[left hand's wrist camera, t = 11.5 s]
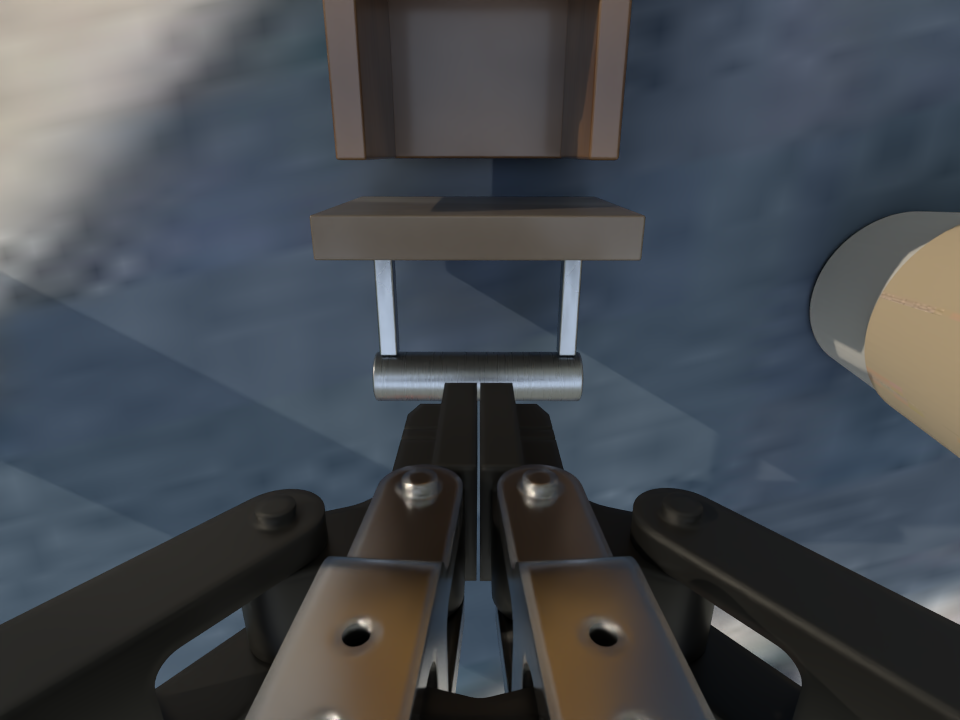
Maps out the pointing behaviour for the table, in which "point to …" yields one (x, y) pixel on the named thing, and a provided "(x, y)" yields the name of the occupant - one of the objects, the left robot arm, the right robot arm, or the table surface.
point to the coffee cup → (899, 316)
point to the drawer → (477, 134)
